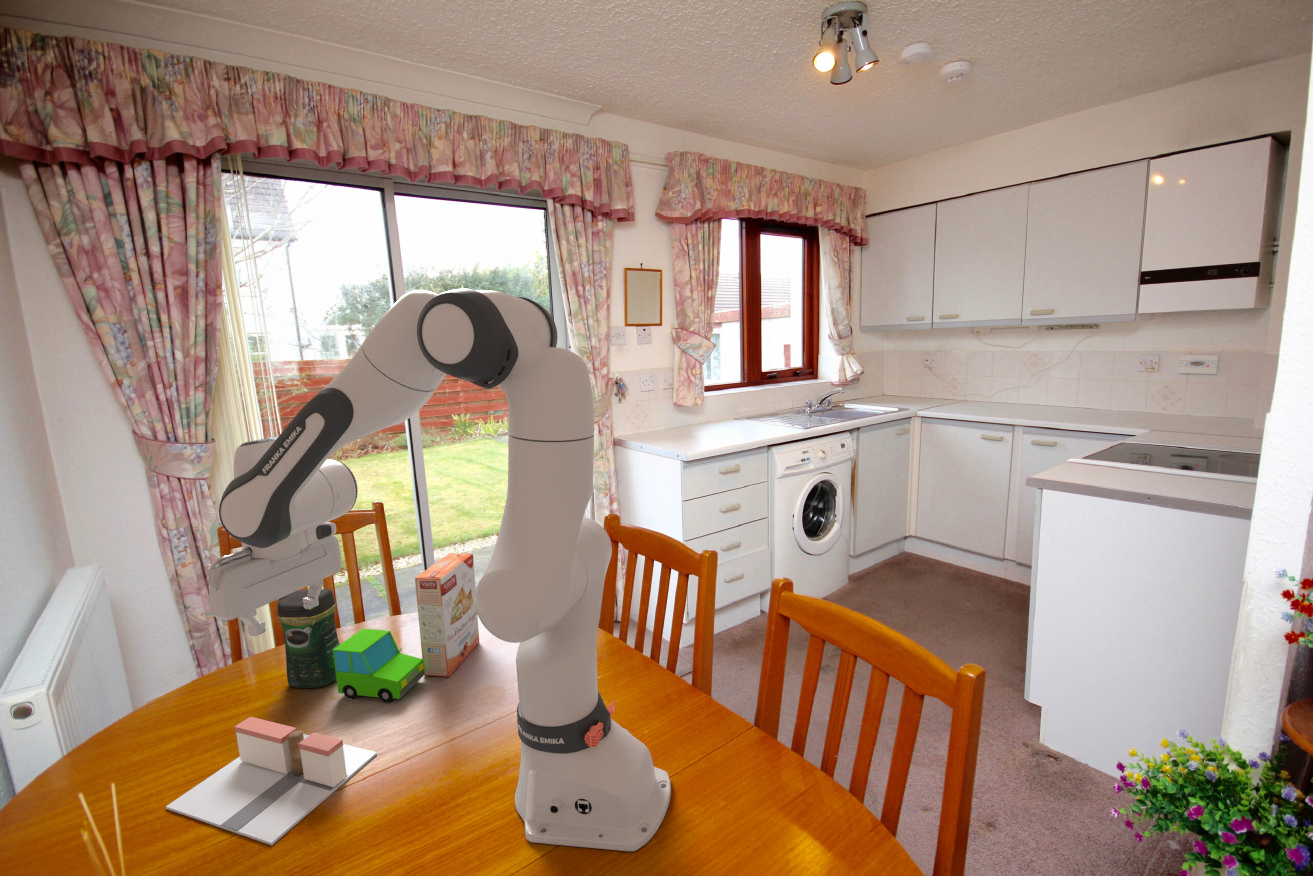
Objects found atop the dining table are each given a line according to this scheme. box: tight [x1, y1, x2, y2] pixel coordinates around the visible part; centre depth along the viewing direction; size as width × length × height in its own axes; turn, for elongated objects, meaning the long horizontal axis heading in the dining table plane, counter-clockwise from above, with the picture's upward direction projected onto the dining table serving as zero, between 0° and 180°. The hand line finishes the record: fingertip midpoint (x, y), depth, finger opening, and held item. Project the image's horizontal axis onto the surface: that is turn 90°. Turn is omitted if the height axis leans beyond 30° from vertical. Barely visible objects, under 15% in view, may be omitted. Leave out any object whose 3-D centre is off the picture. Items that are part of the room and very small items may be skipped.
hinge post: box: [288, 730, 304, 776], centre depth 90 cm, size 2×2×7 cm
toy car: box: [333, 628, 425, 704], centre depth 111 cm, size 10×13×10 cm
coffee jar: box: [277, 588, 341, 689], centre depth 115 cm, size 10×8×19 cm
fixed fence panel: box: [298, 732, 347, 787], centre depth 88 cm, size 6×3×6 cm, turn 71°
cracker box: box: [414, 552, 480, 678], centre depth 121 cm, size 14×6×21 cm, turn 172°
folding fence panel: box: [234, 716, 298, 774], centre depth 92 cm, size 10×3×6 cm, turn 71°
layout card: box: [165, 733, 378, 846], centre depth 89 cm, size 21×18×1 cm
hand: (285, 620), depth 94 cm, fingers open, 8 cm apart
